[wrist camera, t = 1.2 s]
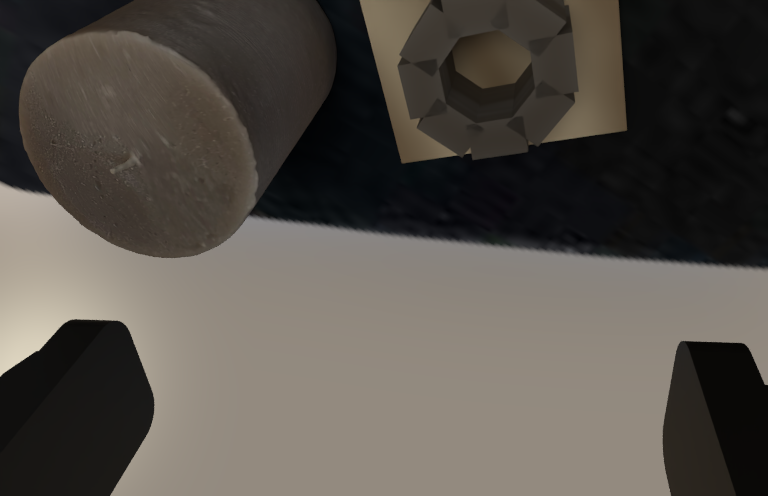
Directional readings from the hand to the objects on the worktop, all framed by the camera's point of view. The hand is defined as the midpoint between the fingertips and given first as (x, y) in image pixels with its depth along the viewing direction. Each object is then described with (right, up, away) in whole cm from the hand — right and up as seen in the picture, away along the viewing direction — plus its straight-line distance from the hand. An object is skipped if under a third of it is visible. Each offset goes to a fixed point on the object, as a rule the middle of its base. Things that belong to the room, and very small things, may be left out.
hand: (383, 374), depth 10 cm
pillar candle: (-7, +13, +27) cm, 31 cm away
